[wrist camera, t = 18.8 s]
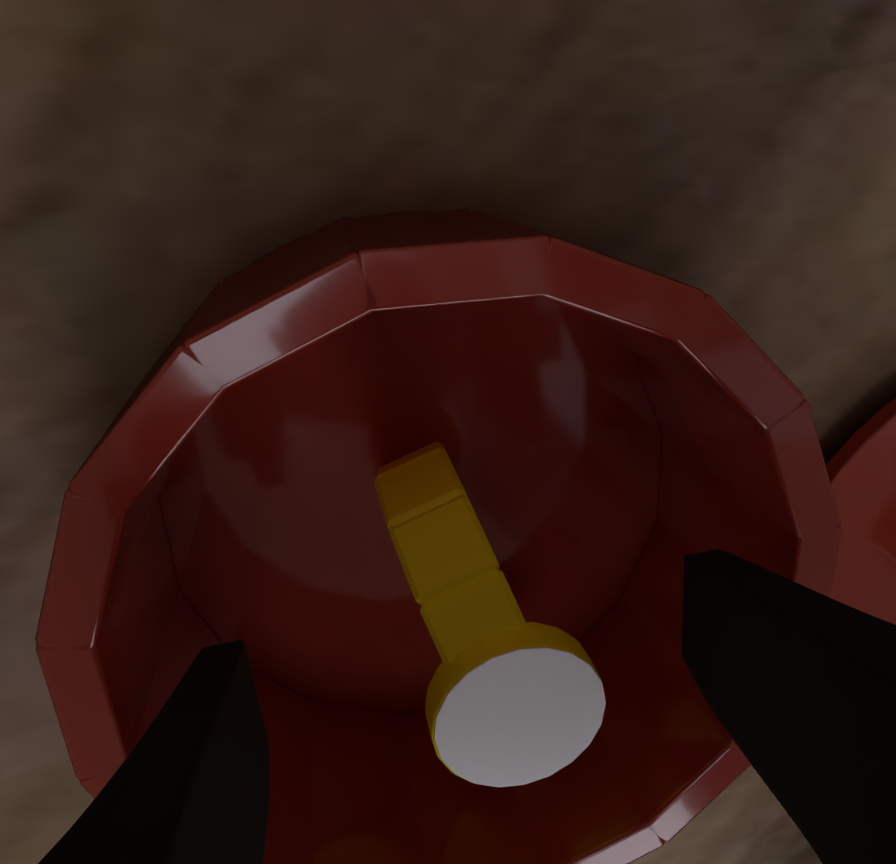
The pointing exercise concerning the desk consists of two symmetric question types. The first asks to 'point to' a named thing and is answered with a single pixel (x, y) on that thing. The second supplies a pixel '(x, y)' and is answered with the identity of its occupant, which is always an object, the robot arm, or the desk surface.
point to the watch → (484, 638)
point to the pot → (372, 550)
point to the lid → (867, 516)
